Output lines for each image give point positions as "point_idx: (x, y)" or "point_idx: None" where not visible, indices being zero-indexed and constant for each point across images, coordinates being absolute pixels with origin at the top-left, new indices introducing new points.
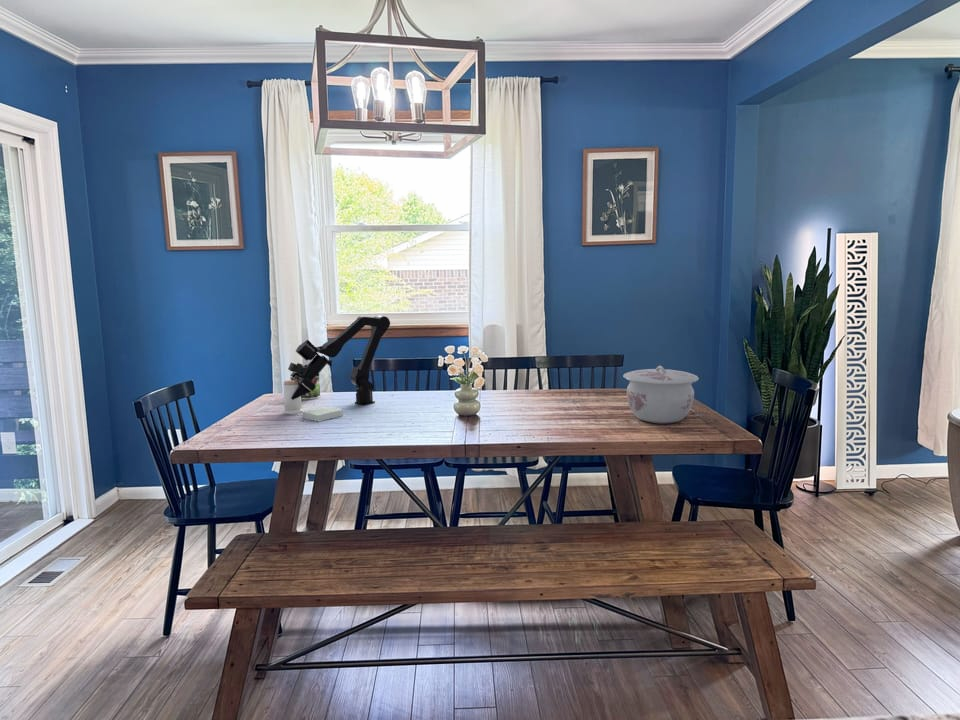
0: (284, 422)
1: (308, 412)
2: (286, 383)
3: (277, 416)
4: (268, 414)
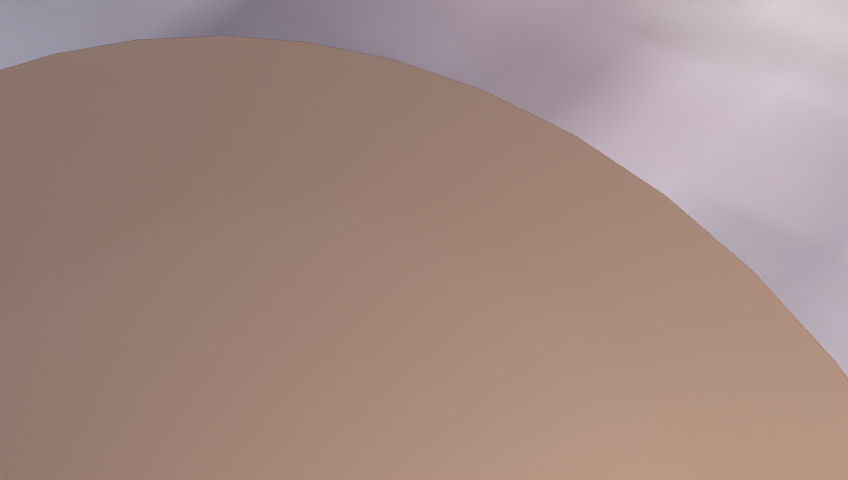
0: (40, 57)
1: None
2: (18, 108)
3: None
4: (646, 106)
